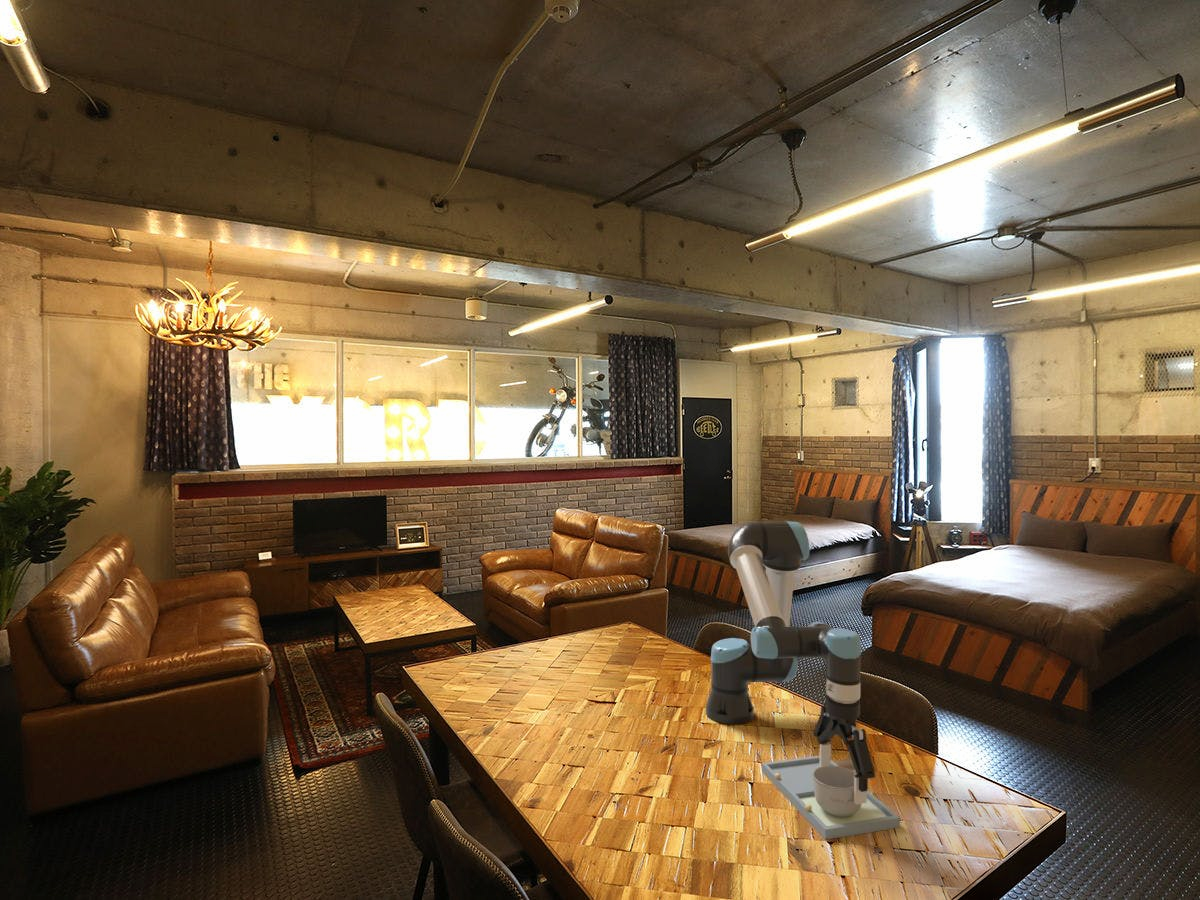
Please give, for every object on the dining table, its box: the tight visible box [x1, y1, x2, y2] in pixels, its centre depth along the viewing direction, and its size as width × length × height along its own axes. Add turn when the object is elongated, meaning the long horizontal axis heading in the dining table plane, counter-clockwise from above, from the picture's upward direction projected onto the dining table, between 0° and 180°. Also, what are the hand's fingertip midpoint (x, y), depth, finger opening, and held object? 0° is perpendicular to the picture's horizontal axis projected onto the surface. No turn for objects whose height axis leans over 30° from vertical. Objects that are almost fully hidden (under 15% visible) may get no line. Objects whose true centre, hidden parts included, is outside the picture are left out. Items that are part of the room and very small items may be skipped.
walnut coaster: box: [832, 757, 861, 771], centre depth 165 cm, size 7×7×1 cm
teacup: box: [813, 766, 861, 817], centre depth 145 cm, size 14×11×8 cm
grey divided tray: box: [761, 755, 901, 840], centre depth 151 cm, size 29×19×3 cm, turn 13°
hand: (841, 786), depth 145 cm, fingers open, 13 cm apart
